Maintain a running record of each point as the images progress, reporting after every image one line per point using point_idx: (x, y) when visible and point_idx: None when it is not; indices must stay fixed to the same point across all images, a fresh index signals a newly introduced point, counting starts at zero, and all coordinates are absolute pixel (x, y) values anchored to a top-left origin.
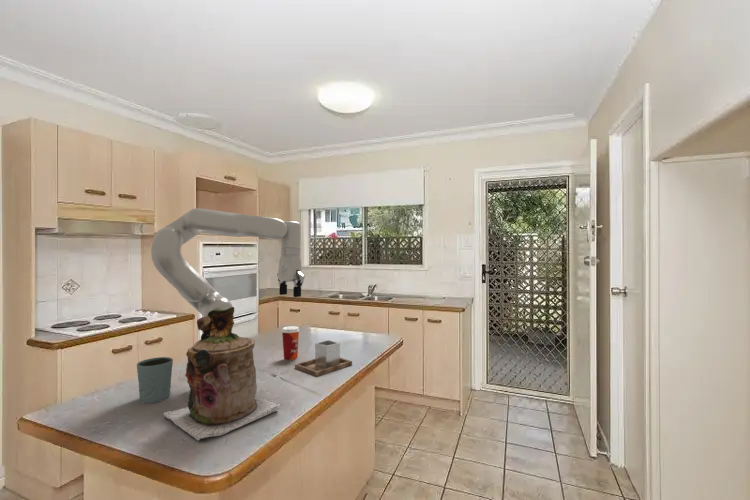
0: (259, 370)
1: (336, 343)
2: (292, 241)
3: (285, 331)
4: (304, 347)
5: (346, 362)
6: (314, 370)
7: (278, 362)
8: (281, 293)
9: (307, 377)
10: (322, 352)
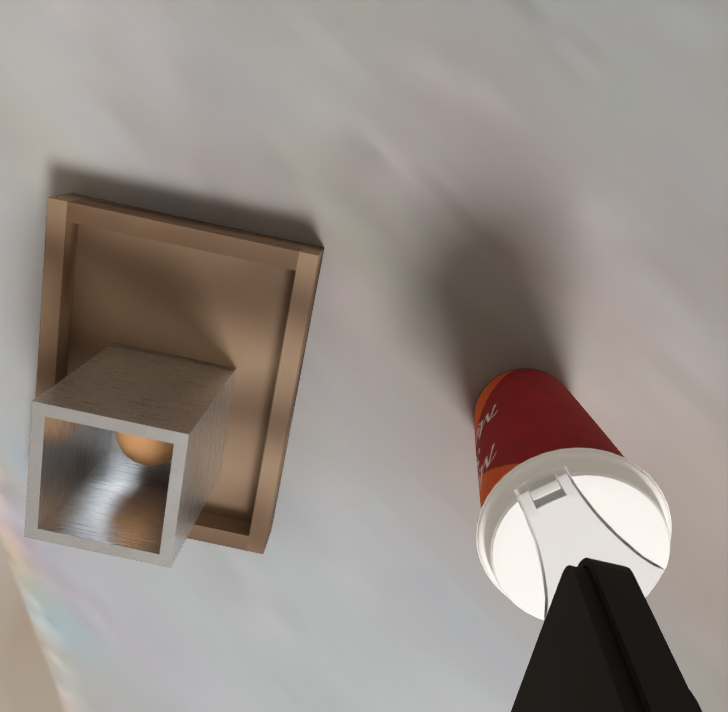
0: (567, 111)
1: (32, 511)
2: None
3: (571, 460)
4: None
5: None
6: (91, 220)
7: (567, 326)
8: (568, 603)
9: (147, 186)
10: (112, 389)
